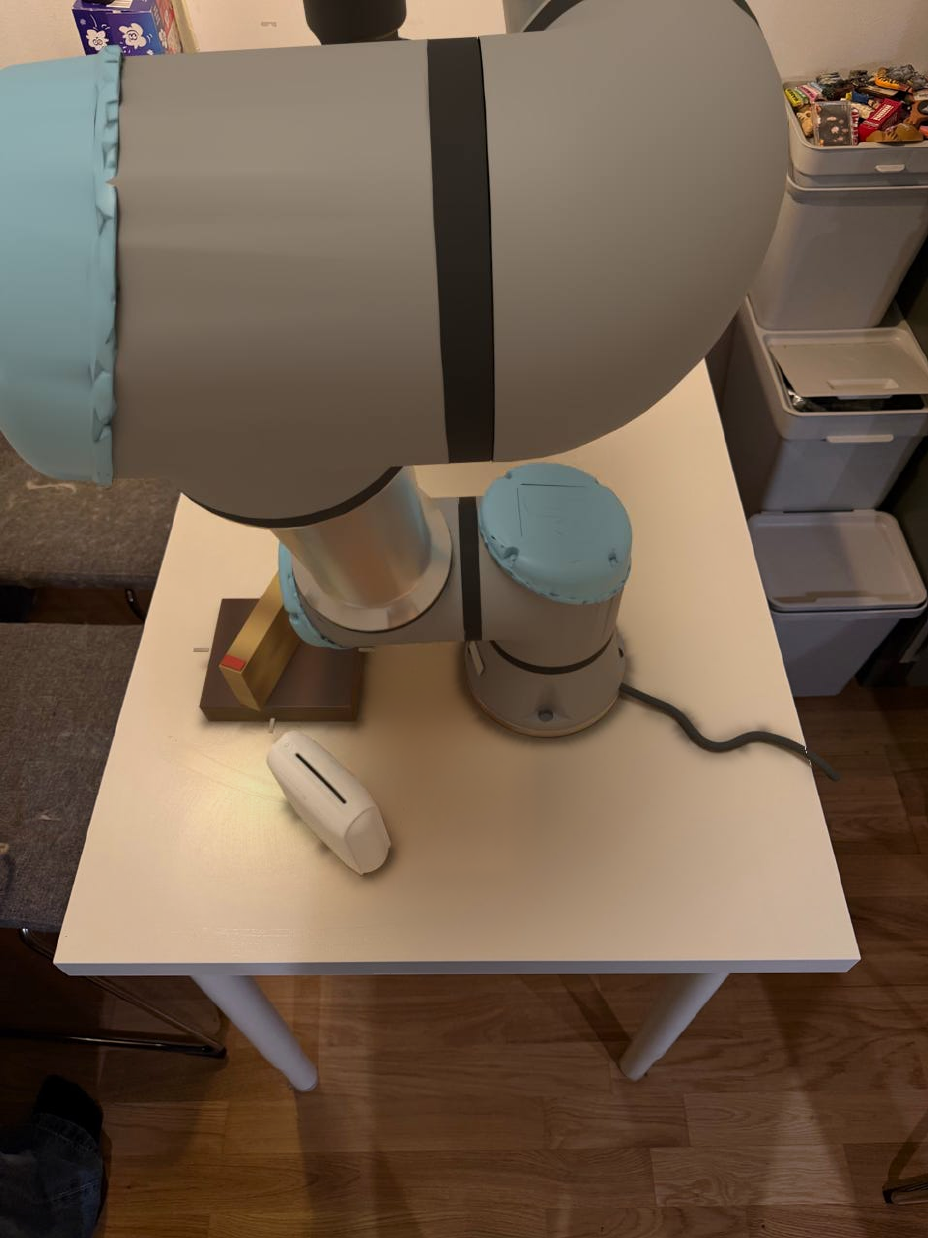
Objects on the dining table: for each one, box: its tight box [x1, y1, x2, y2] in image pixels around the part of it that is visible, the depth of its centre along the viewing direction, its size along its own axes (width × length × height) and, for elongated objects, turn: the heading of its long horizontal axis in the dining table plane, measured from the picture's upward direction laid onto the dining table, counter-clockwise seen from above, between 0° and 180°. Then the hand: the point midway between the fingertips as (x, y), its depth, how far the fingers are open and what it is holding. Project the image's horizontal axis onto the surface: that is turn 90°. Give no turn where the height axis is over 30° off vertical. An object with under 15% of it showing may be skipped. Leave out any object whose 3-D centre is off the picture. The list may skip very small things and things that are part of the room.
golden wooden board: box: [219, 569, 301, 711], centre depth 76 cm, size 13×2×7 cm, turn 159°
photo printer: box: [266, 730, 392, 876], centre depth 68 cm, size 10×4×12 cm, turn 46°
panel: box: [192, 597, 375, 734], centre depth 81 cm, size 17×17×3 cm
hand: (385, 262), depth 79 cm, fingers closed
